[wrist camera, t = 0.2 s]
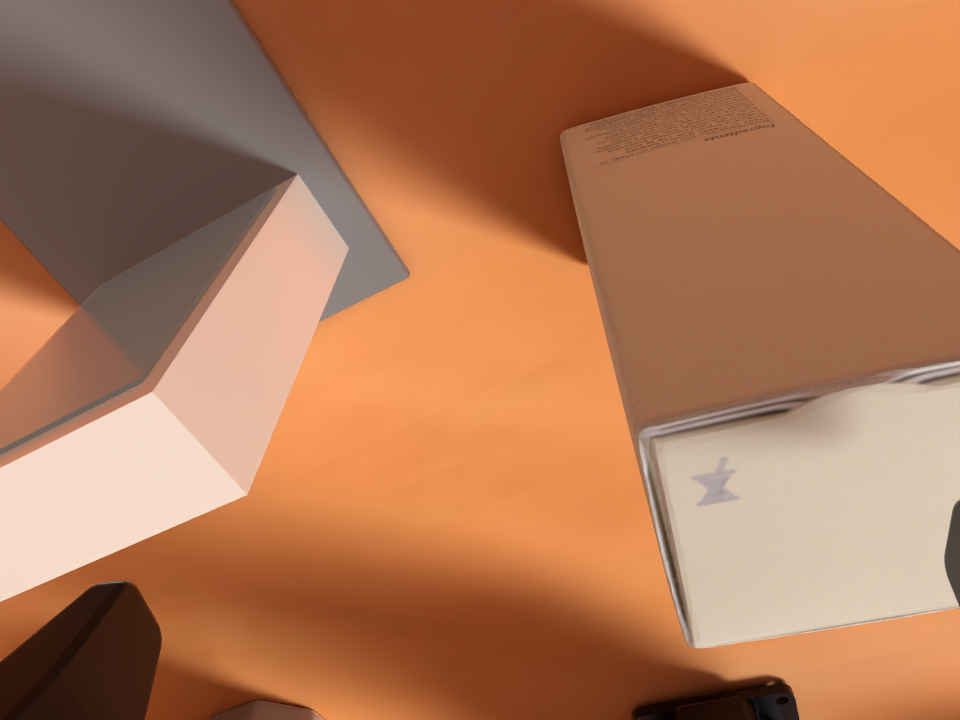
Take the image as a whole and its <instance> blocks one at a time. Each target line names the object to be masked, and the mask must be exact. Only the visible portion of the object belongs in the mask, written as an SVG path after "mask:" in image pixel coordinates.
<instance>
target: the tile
mask: <svg viewBox="0 0 960 720" xmlns="http://www.w3.org/2000/svg"><path fill="white" fill-rule="evenodd" d="M348 249H349V247H348V246H347V245H346V243H345V242H344V240H343V239H342V237H341V236H340V234H339V233H338V231H337V230H336V228H335V227H334V226H333V224H332V223H331V221H330V220H329V218H328V217H327V215H326V214H325V212H324V211H323V210H322V208H321V207H320V205H319V204H318V202H317V201H316V199H315V198H314V196H313V195H312V194H311V192H310V191H309V189H308V188H307V186H306V185H305V183H304V182H303V180H302V179H301V178H300V176H299V175H298V174H297V175H295V176H293V177H291V178H290V179H288V180H286V181H284V182H283V183H281V184H279V185H277V186H275V187H274V188H272V189H270V190H268V191H267V192H265V193H263V194H261V195H260V196H258V197H256V198H254V199H252V200H251V201H249V202H247V203H245V204H244V205H242V206H240V207H238V208H237V209H235V210H233V211H231V212H229V213H228V214H226V215H224V216H222V217H221V218H219V219H217V220H215V221H214V222H212V223H210V224H208V225H206V226H205V227H203V228H201V229H199V230H198V231H196V232H194V233H192V234H190V235H189V236H187V237H185V238H183V239H182V240H180V241H178V242H176V243H175V244H173V245H171V246H169V247H167V248H166V249H164V250H162V251H160V252H159V253H157V254H155V255H153V256H152V257H150V258H148V259H146V260H144V261H143V262H141V263H139V264H137V265H136V266H134V267H132V268H130V269H128V270H127V271H125V272H123V273H121V274H120V275H118V276H116V277H114V278H113V279H111V280H109V281H107V282H105V283H104V284H102V285H100V286H99V287H98V288H97V289H96V290H95V292H94V293H93V294H92V295H91V296H90V297H89V298H88V299H87V300H86V301H85V302H84V303H83V304H82V305H81V306H80V307H79V308H78V309H77V310H76V311H75V312H74V314H73V315H72V316H71V317H70V318H69V319H68V320H67V321H66V322H65V323H64V324H63V325H62V326H61V327H60V328H59V329H58V330H57V331H56V332H55V333H54V335H53V336H52V337H51V338H50V339H49V340H48V341H47V342H46V343H45V344H44V345H43V346H42V347H41V348H40V349H39V350H38V351H37V352H36V353H35V354H34V355H33V357H32V358H31V359H30V360H29V361H28V362H27V363H26V364H25V365H24V366H23V367H22V368H21V369H20V370H19V371H18V372H17V373H16V374H15V375H14V376H13V378H12V379H11V380H10V381H9V382H8V383H7V384H6V385H5V386H4V387H3V388H2V389H1V390H0V602H1V601H3V600H5V599H8V598H10V597H12V596H15V595H17V594H19V593H22V592H24V591H26V590H29V589H31V588H33V587H35V586H38V585H40V584H42V583H45V582H47V581H49V580H52V579H54V578H56V577H59V576H61V575H63V574H66V573H68V572H70V571H72V570H75V569H77V568H79V567H82V566H84V565H86V564H89V563H91V562H93V561H96V560H98V559H100V558H103V557H105V556H107V555H109V554H112V553H114V552H116V551H119V550H121V549H123V548H126V547H128V546H130V545H133V544H135V543H137V542H140V541H142V540H144V539H146V538H149V537H151V536H153V535H156V534H158V533H160V532H163V531H165V530H167V529H170V528H172V527H174V526H177V525H179V524H181V523H183V522H186V521H188V520H190V519H193V518H195V517H197V516H200V515H202V514H204V513H207V512H209V511H211V510H214V509H216V508H218V507H220V506H223V505H225V504H227V503H230V502H232V501H234V500H237V499H239V498H241V497H244V496H246V495H247V494H248V492H249V490H250V487H251V485H252V482H253V480H254V477H255V475H256V473H257V470H258V468H259V465H260V463H261V460H262V458H263V456H264V453H265V451H266V448H267V446H268V443H269V441H270V439H271V436H272V434H273V431H274V429H275V427H276V424H277V422H278V419H279V417H280V414H281V412H282V410H283V407H284V405H285V402H286V400H287V397H288V395H289V393H290V390H291V388H292V385H293V383H294V380H295V378H296V376H297V373H298V371H299V368H300V366H301V363H302V361H303V359H304V356H305V354H306V351H307V349H308V346H309V344H310V342H311V339H312V337H313V334H314V332H315V330H316V327H317V325H318V322H319V320H320V317H321V315H322V313H323V310H324V308H325V305H326V303H327V300H328V298H329V296H330V293H331V291H332V288H333V286H334V283H335V281H336V279H337V276H338V274H339V271H340V269H341V266H342V264H343V262H344V259H345V257H346V254H347V252H348Z"/></svg>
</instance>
